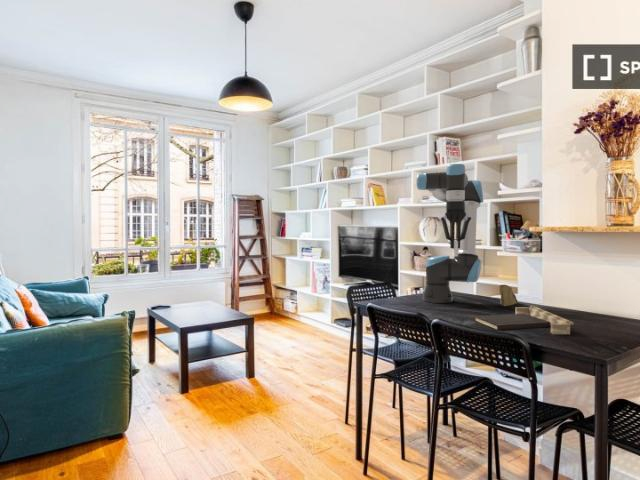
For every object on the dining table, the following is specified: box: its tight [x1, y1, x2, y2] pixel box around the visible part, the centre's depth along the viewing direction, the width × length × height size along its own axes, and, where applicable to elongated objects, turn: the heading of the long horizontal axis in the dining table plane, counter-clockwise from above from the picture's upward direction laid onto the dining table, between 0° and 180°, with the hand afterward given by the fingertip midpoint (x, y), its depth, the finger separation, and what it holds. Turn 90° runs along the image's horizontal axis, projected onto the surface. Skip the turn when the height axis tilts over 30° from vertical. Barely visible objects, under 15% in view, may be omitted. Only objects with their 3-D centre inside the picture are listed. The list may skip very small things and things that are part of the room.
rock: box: [499, 284, 519, 307], centre depth 210 cm, size 11×9×10 cm
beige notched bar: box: [514, 304, 574, 335], centre depth 171 cm, size 31×8×4 cm, turn 178°
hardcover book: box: [474, 313, 551, 331], centre depth 172 cm, size 16×23×2 cm
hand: (455, 256), depth 182 cm, fingers closed
